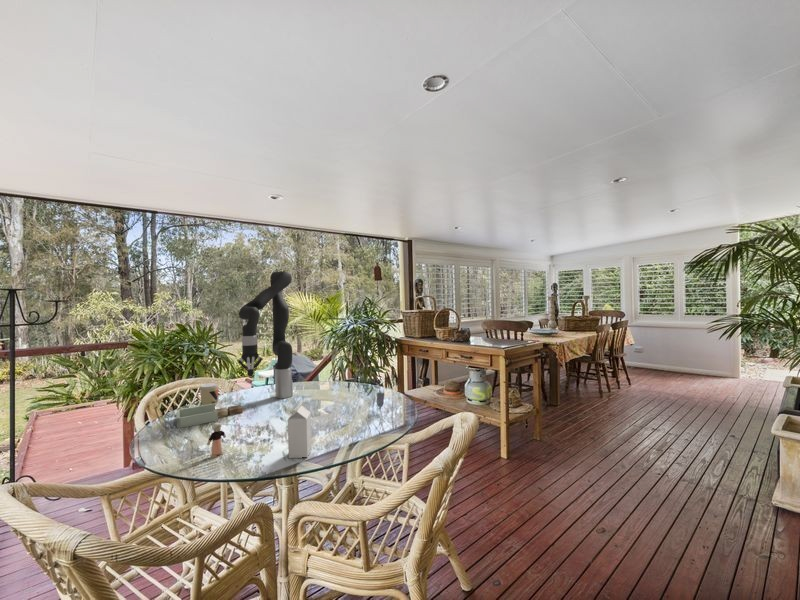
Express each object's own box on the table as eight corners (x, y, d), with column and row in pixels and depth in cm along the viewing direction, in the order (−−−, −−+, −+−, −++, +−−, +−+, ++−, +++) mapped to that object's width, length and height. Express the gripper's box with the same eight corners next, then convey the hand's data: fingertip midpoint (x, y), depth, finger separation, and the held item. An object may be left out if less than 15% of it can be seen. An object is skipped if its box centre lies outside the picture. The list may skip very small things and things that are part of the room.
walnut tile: (240, 410, 190) (240, 404, 190) (242, 413, 185) (242, 407, 185) (228, 412, 186) (228, 407, 186) (230, 415, 181) (229, 410, 181)
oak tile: (226, 412, 186) (226, 407, 186) (227, 416, 181) (227, 410, 181) (213, 415, 183) (213, 409, 183) (214, 418, 178) (214, 412, 178)
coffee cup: (213, 408, 192) (212, 387, 192) (196, 409, 192) (195, 387, 192) (222, 403, 201) (221, 382, 201) (206, 403, 202) (205, 382, 201)
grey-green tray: (214, 411, 187) (214, 403, 187) (217, 420, 174) (217, 411, 174) (177, 418, 178) (176, 409, 178) (177, 428, 165) (176, 418, 165)
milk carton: (311, 449, 140) (310, 402, 140) (307, 458, 133) (306, 408, 133) (293, 450, 140) (292, 402, 140) (288, 458, 133) (287, 408, 132)
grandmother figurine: (214, 459, 133) (213, 426, 133) (206, 458, 134) (204, 425, 134) (229, 450, 141) (228, 419, 140) (221, 449, 142) (220, 418, 141)
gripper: (261, 342, 196) (262, 373, 196) (235, 344, 189) (236, 376, 189) (264, 343, 189) (264, 375, 190) (237, 345, 182) (238, 379, 183)
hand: (250, 376), depth 189 cm, fingers closed
